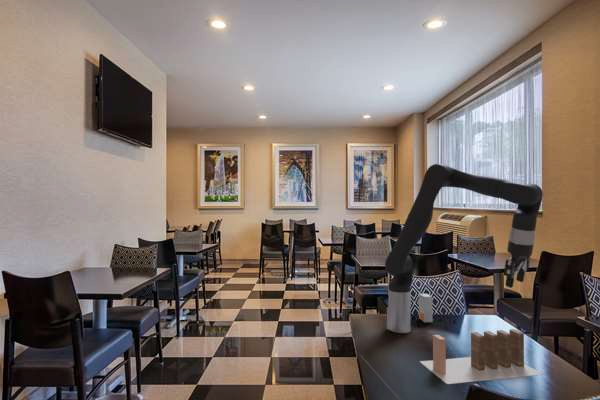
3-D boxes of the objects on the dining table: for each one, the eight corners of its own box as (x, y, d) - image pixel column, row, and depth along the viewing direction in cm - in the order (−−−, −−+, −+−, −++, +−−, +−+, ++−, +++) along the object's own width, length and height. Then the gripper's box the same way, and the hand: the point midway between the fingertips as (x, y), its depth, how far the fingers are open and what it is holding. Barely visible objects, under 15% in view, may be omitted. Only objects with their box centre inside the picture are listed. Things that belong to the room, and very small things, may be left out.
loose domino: (440, 374, 114) (440, 339, 114) (433, 368, 118) (433, 335, 118) (445, 373, 114) (445, 339, 114) (438, 368, 118) (438, 334, 118)
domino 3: (505, 368, 118) (505, 334, 119) (497, 362, 122) (496, 330, 122) (511, 367, 119) (510, 334, 119) (502, 362, 123) (501, 330, 123)
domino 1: (479, 370, 116) (478, 336, 117) (471, 365, 120) (470, 332, 121) (484, 370, 117) (484, 336, 117) (476, 364, 121) (476, 331, 121)
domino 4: (518, 366, 119) (518, 333, 120) (509, 361, 123) (509, 329, 123) (524, 366, 120) (523, 333, 120) (514, 361, 124) (514, 329, 124)
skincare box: (418, 318, 173) (418, 293, 173) (427, 318, 173) (427, 293, 173) (424, 322, 167) (424, 296, 167) (432, 322, 167) (432, 296, 167)
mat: (447, 386, 108) (447, 384, 108) (419, 363, 123) (419, 361, 123) (543, 376, 114) (543, 374, 114) (505, 355, 130) (505, 353, 130)
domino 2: (492, 369, 117) (492, 335, 118) (484, 364, 121) (483, 331, 122) (497, 368, 118) (497, 335, 118) (489, 363, 122) (489, 331, 122)
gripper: (518, 234, 133) (512, 276, 136) (500, 241, 124) (494, 284, 128) (541, 240, 127) (534, 283, 130) (523, 247, 118) (516, 292, 122)
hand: (514, 283), depth 129 cm, fingers open, 8 cm apart
